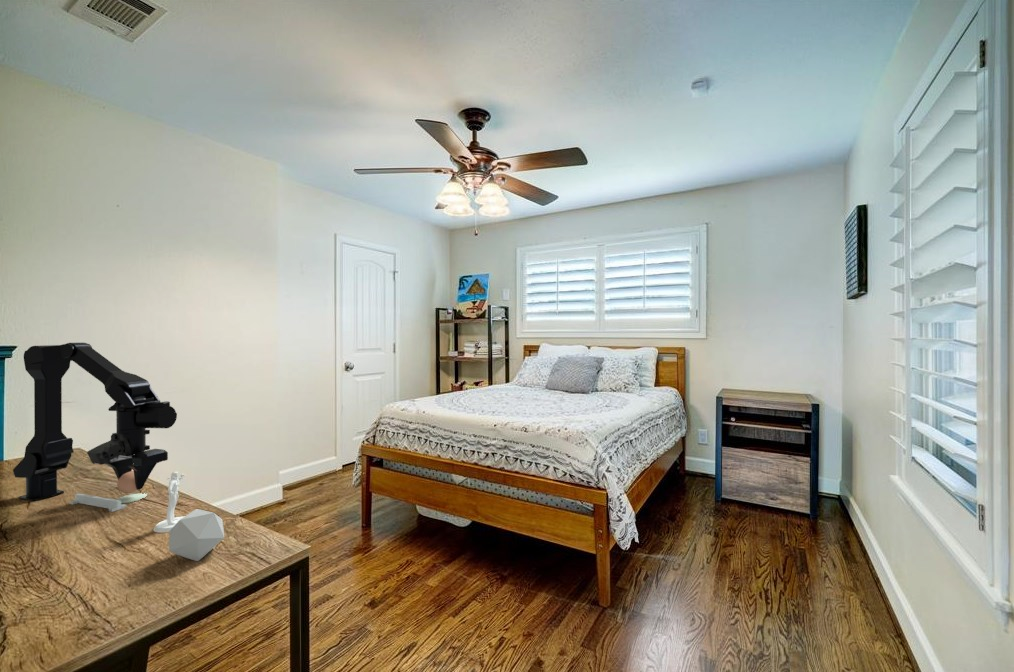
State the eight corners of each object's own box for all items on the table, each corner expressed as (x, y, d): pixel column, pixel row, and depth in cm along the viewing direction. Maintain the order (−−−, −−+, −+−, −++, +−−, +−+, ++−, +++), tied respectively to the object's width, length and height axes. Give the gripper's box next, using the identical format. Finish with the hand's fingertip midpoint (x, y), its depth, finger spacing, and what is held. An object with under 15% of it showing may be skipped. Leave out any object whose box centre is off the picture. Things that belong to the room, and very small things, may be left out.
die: (235, 553, 86) (232, 503, 91) (204, 550, 79) (202, 496, 83) (192, 571, 85) (191, 520, 90) (155, 570, 78) (156, 514, 83)
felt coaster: (109, 501, 112) (109, 500, 112) (137, 493, 118) (137, 492, 118) (126, 504, 110) (126, 503, 110) (153, 495, 116) (153, 494, 116)
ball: (112, 495, 112) (111, 473, 112) (136, 488, 117) (135, 467, 117) (126, 497, 110) (126, 475, 110) (150, 490, 116) (150, 469, 116)
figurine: (188, 529, 96) (188, 474, 96) (148, 535, 93) (147, 478, 93) (197, 516, 102) (196, 465, 102) (159, 521, 100) (159, 468, 100)
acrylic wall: (69, 504, 110) (69, 496, 110) (84, 499, 113) (84, 492, 113) (112, 511, 105) (112, 503, 105) (126, 507, 108) (126, 499, 108)
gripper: (69, 431, 109) (69, 494, 109) (119, 437, 103) (120, 503, 103) (120, 423, 120) (121, 480, 120) (169, 427, 114) (169, 487, 114)
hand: (131, 488), depth 114 cm, fingers closed on ball, 5 cm apart
